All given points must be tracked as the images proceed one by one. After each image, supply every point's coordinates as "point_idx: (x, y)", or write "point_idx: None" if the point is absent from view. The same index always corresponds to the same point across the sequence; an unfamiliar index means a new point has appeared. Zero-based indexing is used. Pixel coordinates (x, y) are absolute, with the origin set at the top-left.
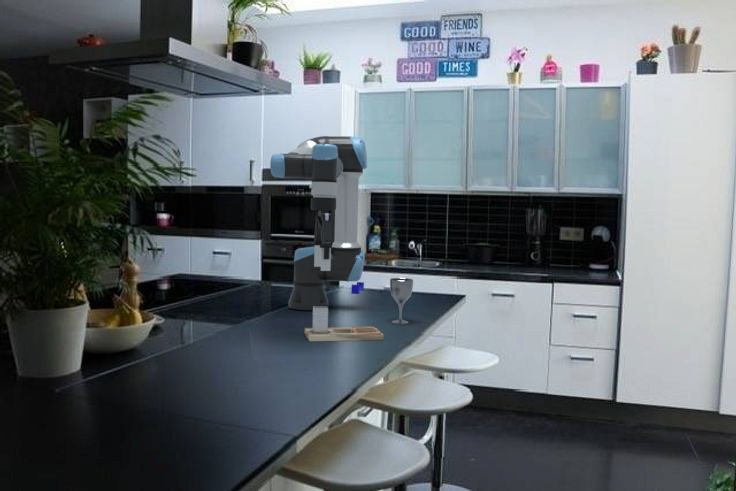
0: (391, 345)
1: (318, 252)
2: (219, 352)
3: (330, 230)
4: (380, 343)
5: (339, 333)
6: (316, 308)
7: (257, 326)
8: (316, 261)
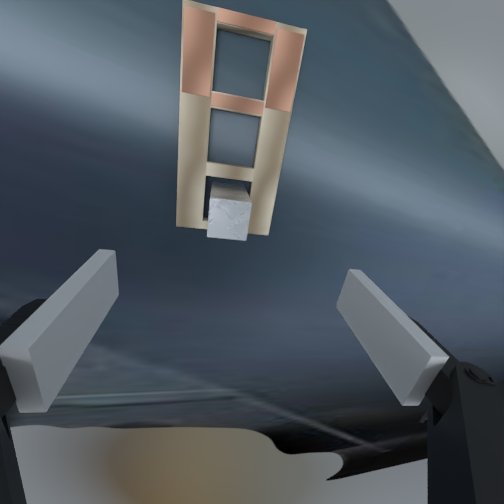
0: (367, 44)
1: (75, 336)
2: (302, 361)
3: None
4: (336, 66)
5: (259, 160)
6: (246, 235)
7: None
8: (106, 303)
